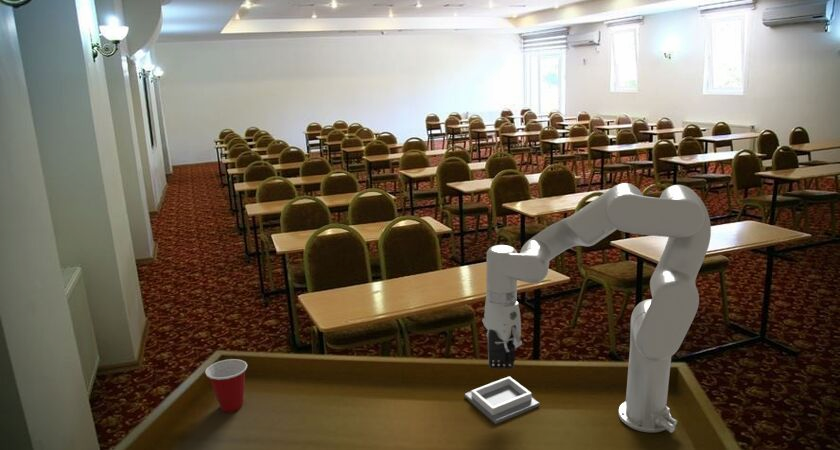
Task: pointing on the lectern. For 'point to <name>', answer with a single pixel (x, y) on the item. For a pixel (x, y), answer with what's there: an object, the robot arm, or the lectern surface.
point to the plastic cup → (228, 383)
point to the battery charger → (497, 351)
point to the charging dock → (502, 399)
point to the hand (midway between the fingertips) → (501, 356)
